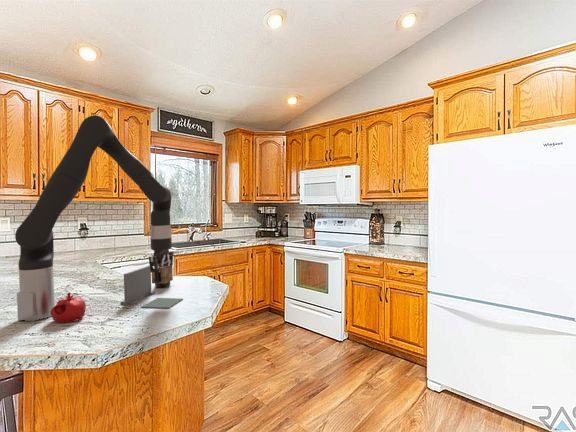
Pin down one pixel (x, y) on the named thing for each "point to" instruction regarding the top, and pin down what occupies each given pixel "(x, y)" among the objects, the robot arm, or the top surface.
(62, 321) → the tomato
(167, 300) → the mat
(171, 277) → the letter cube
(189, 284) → the top surface
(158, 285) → the supplement bottle
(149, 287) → the screen
